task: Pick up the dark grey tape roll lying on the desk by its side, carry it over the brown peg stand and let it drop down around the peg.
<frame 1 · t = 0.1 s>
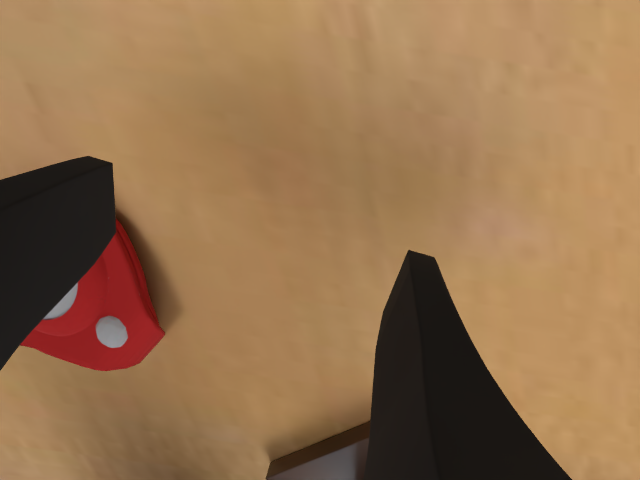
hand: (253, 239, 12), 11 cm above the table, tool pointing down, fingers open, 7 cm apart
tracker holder: (66, 273, 27), on the table
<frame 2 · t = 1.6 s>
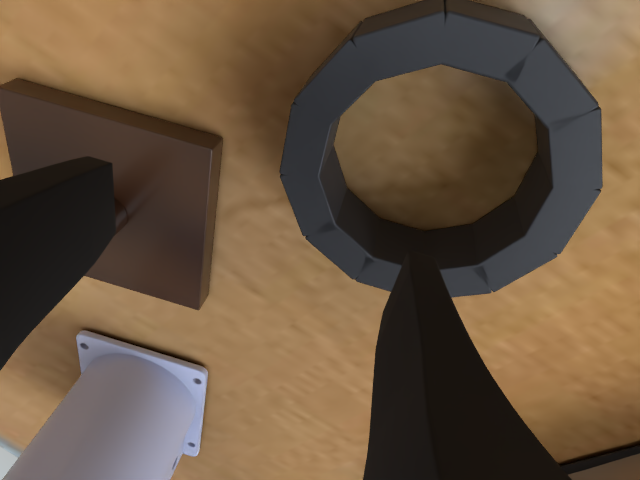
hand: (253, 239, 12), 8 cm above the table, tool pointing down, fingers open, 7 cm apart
brown peg stand: (123, 198, 23), on the table
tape: (431, 147, 18), on the table
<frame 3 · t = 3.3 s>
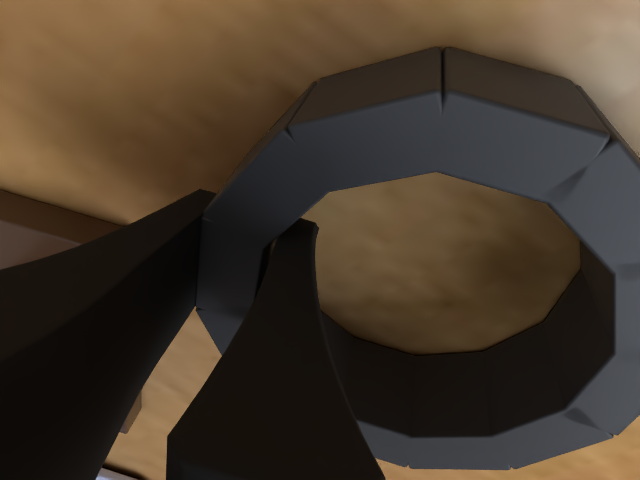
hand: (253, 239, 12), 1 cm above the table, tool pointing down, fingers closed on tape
brown peg stand: (18, 296, 17), on the table
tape: (424, 255, 13), on the table, touching gripper
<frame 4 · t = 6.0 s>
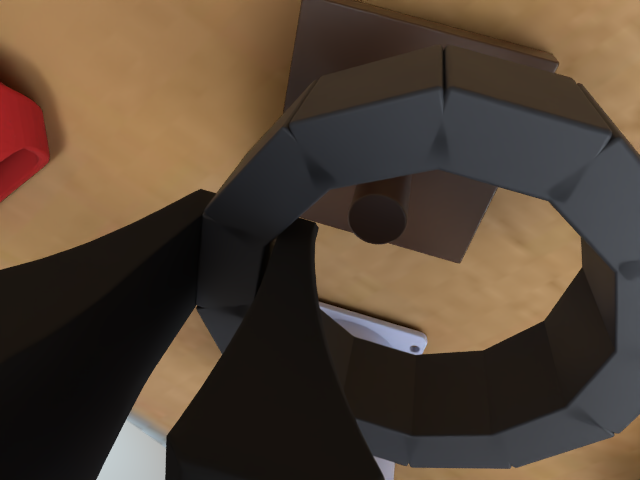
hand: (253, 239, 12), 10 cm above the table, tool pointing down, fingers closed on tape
brown peg stand: (393, 134, 20), on the table
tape: (425, 253, 12), point 9 cm above the table, touching gripper
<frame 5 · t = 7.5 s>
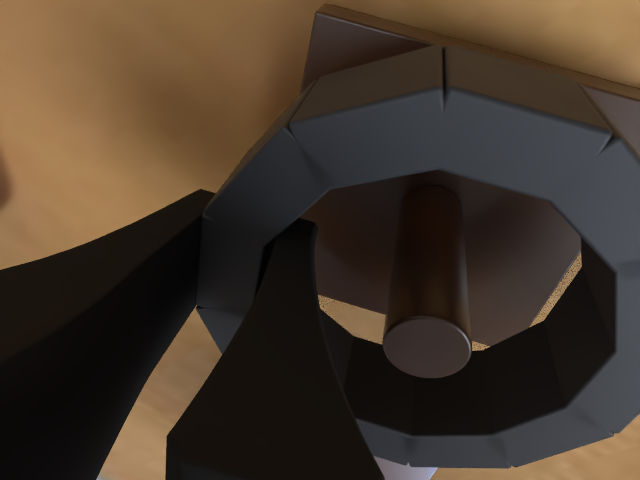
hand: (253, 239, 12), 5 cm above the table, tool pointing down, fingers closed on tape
brown peg stand: (431, 192, 15), on the table
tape: (424, 253, 12), point 3 cm above the table, touching gripper
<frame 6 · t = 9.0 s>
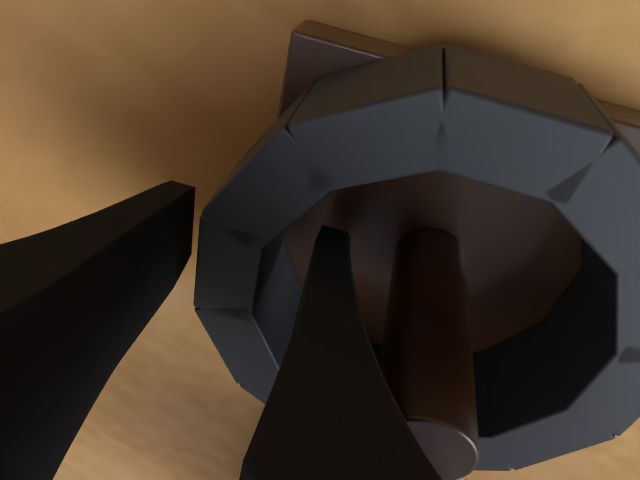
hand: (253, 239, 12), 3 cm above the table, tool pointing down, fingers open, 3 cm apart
brown peg stand: (429, 232, 13), on the table
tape: (424, 254, 12), point 1 cm above the table, touching brown peg stand
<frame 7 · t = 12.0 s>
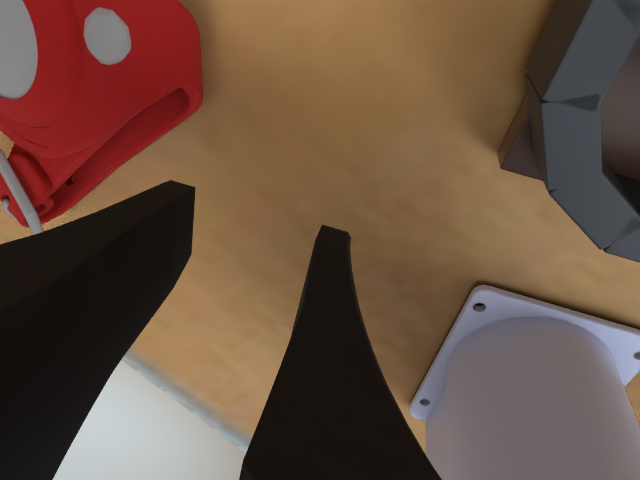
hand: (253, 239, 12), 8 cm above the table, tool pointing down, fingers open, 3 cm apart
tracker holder: (74, 71, 19), on the table
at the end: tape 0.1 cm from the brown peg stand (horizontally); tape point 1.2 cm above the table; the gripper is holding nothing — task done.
